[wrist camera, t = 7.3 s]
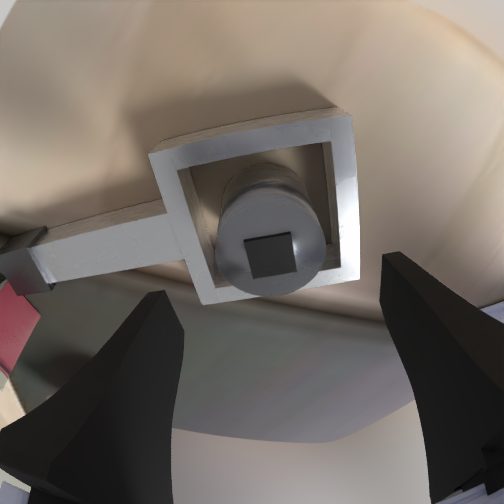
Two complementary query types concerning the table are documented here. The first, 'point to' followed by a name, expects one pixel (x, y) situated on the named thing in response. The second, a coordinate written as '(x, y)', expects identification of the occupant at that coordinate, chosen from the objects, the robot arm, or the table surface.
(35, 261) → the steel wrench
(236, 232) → the socket
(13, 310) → the small box
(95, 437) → the robot arm
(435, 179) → the table surface
